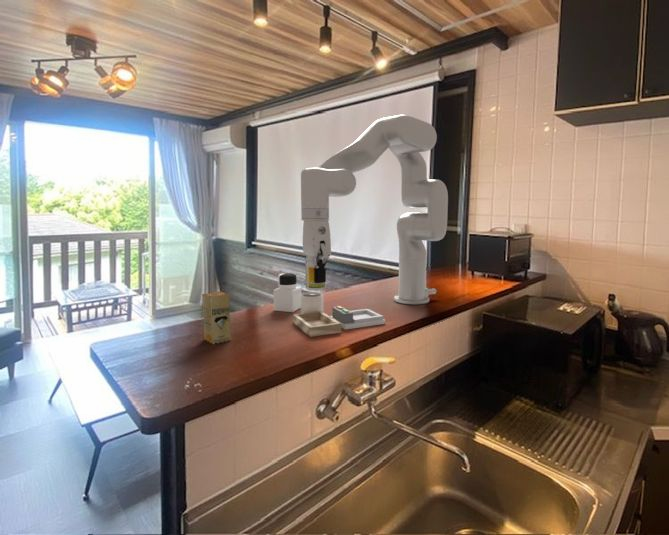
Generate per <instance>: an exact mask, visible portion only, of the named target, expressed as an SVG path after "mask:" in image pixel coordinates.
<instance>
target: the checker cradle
mask: <svg viewBox="0 0 669 535" xmlns="http://www.w3.org/2000/svg"><path fill="white" fill-rule="evenodd" d="M331 313H332V315H329V316H330V317H332V318H333V319H335V320H336V321H338V322H340V323H341V329H343V330H351V329H357V328H365V327H372V326H377V325H378V326H379V325H385V324H386V319H385V318H384V315H382V314H380V313H377V312H376V311H373V310H372V309H369V308H364V309H362V308H361V309H354V310H349V309H347V308H345V307H344V306H340V305H336V306H332V312H331Z"/></svg>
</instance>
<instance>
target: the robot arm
mask: <svg viewBox="0 0 669 535" xmlns="http://www.w3.org/2000/svg"><path fill="white" fill-rule="evenodd" d="M437 139H438V134H437V131H436V129H435V127H434V126H433V125H432V124H430V122H427V121H424V120H421V119H420V118H416V117H413V116H410V115H406V114H398V115H393V116H387V117H382V118H380V119H379V118H378V119H377V120H375V121H374V122H373V123H372V124H370V126H369V127H368V128H366V130H365V131H363V133H362V134H361V135H360V136H359V137H358V138H357V139H356V140H355V141H354V142H352V143H351V144H349V145H348V146H346V147H345V148H343V149H341V150H340V151H338V152H337V153H335V154H333V155H332V156H330V157H329V158H327V159H326V160H325V161H323V162H322V164H320V165H319V166H318V167H308V168H304V169H302V170H301V172H300V206H301V207H300V208H301V211H300V212H301V213H300V214H301V215H300V216H301V217H300V218H301V219H300V220H301V221H303V226H302V251H303V254H304V255H305V257H304V258H305V264H306V263H307V262H309V260H308V255H309V256H311V257H314V260H315V268H314V282H315V283H324V282H325V283H326V282H327V280H326V278H327V277H326V275H327V271H326V270H327V263H328V259H329V257H331V255H332V245H331V244H332V243H331V242H332V241H331V230H330V228H331V227H330V223H329V221H330V197H337V198H338V197H347V196H349V195H351V194H352V193H353V192H354V191H355V189H356V186H357V179H356V177H355V175H354V174H353V173H356V172H359V171H363V170H365V169H368V168H369V167H371V166H373V165H374V164H375V163H376V162H377V160H378V159H380V157H381V156H382V155H383V154H384V153H385V151H387V150H388V149H389V150H390V151H391V153H392V154H393V155H394V156H395V158H396V159H397V161H398V162H399V164H400V171H401V189H400V190H401V193H400V194H401V202H402V205H403V206H404V207H406V208H409V209H427V212H424V211H422V212H421V211H417V212H416V211H415V212H414V211H413V212H412V211H411V212H410V211H409V212H405V213H403V214H401V215H400V216H399V217H398V219H397V221H396V231H397V237H398V238H397V239H398V252H399V254H398V288H397V291H398V293H397V295H396V294H395V295H394V296H393V301H394V302H396V303H399V304H403V305H425V304H428V303H429V302H430V297H428V296H429V295H436V293H437V289H436V288H427V287H426V286H427V285H426V279H427V278H426V277H427V249H426V246H425V244H424V242H423V241H426V242H427V241H429V242H438V241H439V242H440V240H443V239H444V238H445V236H446V233H447V229H448V211H449V210H448V207H449V194H448V192H449V191H448V189H447V186H446V184H445V183H444V182H443V181H442V180H440V179H428V177H427V176H428V172H427V170H428V169H427V163H426V160H425V159H424V157H423V155H422V154H421V153H423V152H424V153H425V152H429V151H430V150H432V149H433V148H434V147H435V145H436V144H437ZM318 255H322V256H318ZM317 256H318V257H317ZM318 259H320V260H319V262H318Z"/></svg>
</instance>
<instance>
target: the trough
mask: <svg viewBox="0 0 669 535" xmlns="http://www.w3.org/2000/svg"><path fill="white" fill-rule="evenodd" d="M292 315H293V316H292V318H293V319H292V321H293V322H292V323H293V324H294V325H295V326H296V327H298V328H299V329H300V330H301V331H303V332H304V333H305V334H306V335H308V336H309V337H310V338H311V337H319V336H325V335H334V334H340V333H342V327H341V323H340V322H338V321H336V320H335V319H333V318H332V317H330V316H331V315H328V314H327V313H325V312H324V311H323V312H322V311H319V312H311V313H303V314H301V313H297V314H292Z"/></svg>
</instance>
